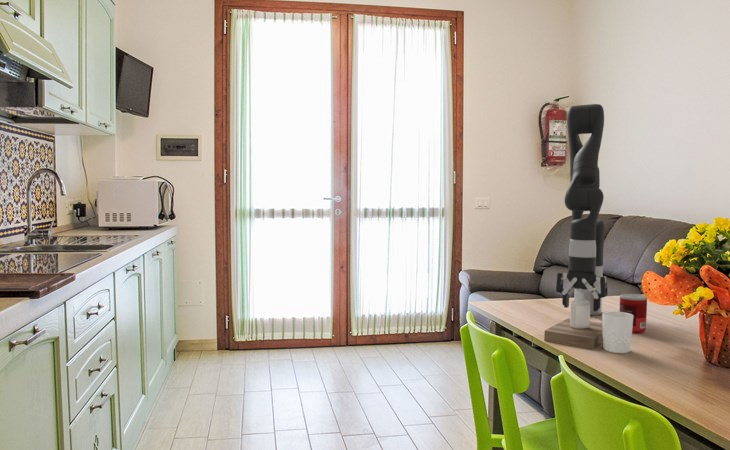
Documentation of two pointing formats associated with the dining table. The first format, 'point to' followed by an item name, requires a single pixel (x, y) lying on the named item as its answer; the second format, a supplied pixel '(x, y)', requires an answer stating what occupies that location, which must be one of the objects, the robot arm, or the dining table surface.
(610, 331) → the white cup
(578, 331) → the walnut base board
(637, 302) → the canned food
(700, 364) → the dining table surface
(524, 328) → the dining table surface
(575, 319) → the eye dropper bottle
